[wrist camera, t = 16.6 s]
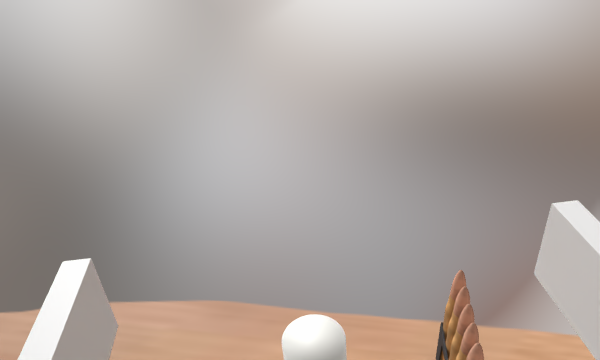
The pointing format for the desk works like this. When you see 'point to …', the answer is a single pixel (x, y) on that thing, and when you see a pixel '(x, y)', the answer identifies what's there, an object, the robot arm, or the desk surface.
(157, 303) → the desk surface
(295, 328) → the cylinder
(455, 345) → the ammunition clip
